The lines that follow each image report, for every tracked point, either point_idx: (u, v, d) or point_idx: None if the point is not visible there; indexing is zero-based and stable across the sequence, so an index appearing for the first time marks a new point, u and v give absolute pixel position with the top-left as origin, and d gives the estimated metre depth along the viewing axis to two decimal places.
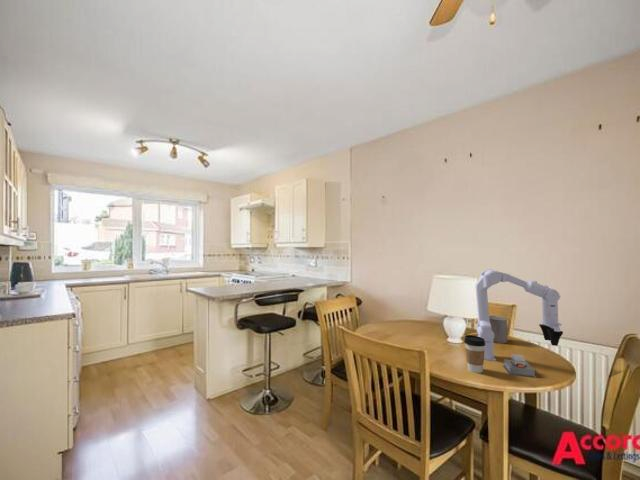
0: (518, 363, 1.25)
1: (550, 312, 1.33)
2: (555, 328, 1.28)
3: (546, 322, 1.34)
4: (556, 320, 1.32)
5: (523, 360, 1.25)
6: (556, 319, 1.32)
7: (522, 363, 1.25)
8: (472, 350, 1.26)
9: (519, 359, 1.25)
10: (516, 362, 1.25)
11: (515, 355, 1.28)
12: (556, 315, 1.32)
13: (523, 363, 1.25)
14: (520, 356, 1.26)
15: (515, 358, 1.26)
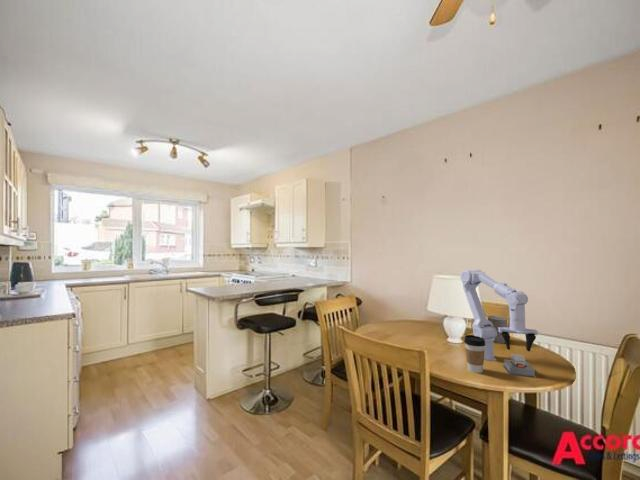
0: (518, 363, 1.25)
1: (510, 316, 1.27)
2: (498, 328, 1.30)
3: None
4: (512, 325, 1.26)
5: (523, 360, 1.25)
6: (512, 324, 1.26)
7: (522, 363, 1.25)
8: (472, 350, 1.26)
9: (519, 359, 1.25)
10: (516, 362, 1.25)
11: (515, 355, 1.28)
12: (512, 320, 1.26)
13: (523, 363, 1.25)
14: (520, 356, 1.26)
15: (515, 358, 1.26)
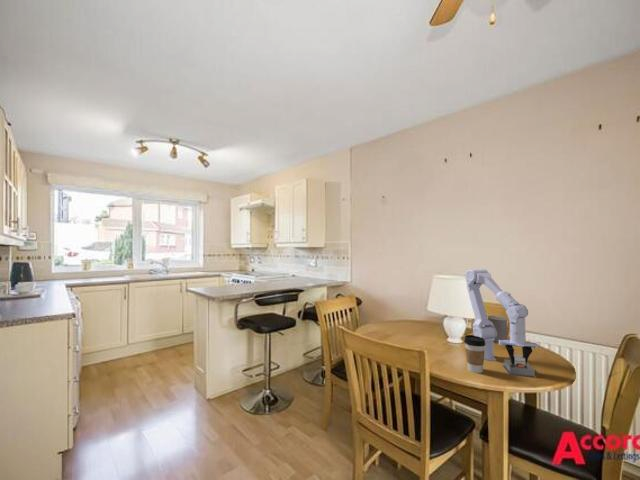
0: (518, 363, 1.25)
1: (511, 329, 1.27)
2: None
3: None
4: (512, 338, 1.26)
5: (523, 360, 1.25)
6: (512, 337, 1.26)
7: (522, 363, 1.25)
8: (472, 350, 1.26)
9: (519, 359, 1.25)
10: (516, 362, 1.25)
11: (515, 355, 1.28)
12: (512, 333, 1.26)
13: (523, 363, 1.25)
14: (520, 356, 1.26)
15: (515, 358, 1.26)
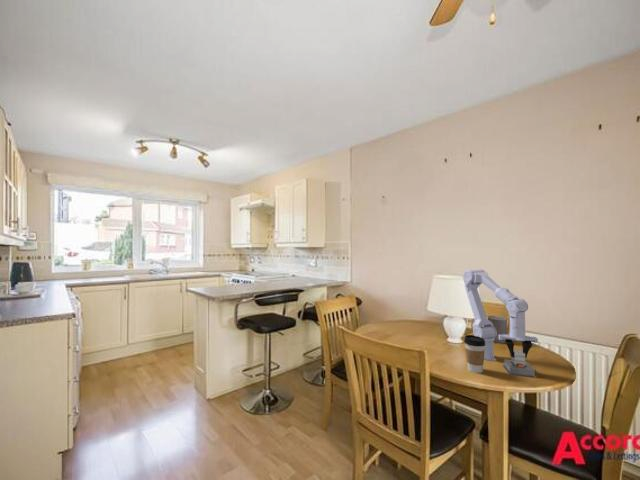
0: (518, 358, 1.25)
1: (511, 324, 1.27)
2: None
3: None
4: (512, 332, 1.26)
5: (523, 355, 1.25)
6: (512, 331, 1.26)
7: (522, 358, 1.25)
8: (472, 350, 1.26)
9: (519, 354, 1.25)
10: (516, 357, 1.25)
11: (515, 350, 1.28)
12: (512, 327, 1.26)
13: (523, 358, 1.25)
14: (520, 351, 1.27)
15: (515, 353, 1.26)
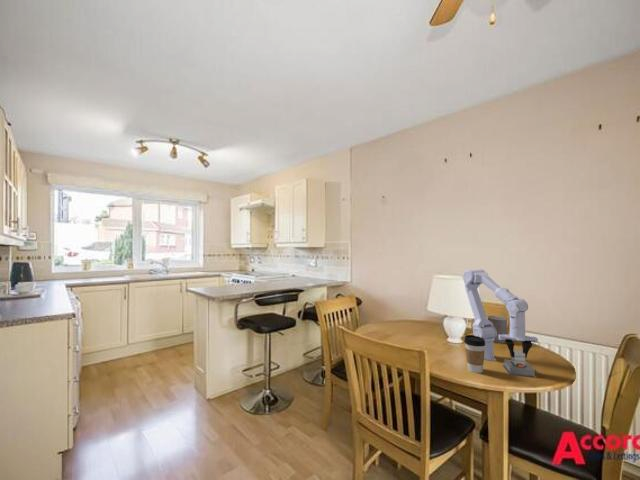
0: (518, 358, 1.25)
1: (511, 324, 1.27)
2: None
3: None
4: (512, 332, 1.26)
5: (523, 355, 1.25)
6: (512, 331, 1.26)
7: (522, 358, 1.25)
8: (472, 350, 1.26)
9: (519, 354, 1.25)
10: (516, 357, 1.25)
11: (515, 350, 1.28)
12: (512, 327, 1.26)
13: (523, 358, 1.25)
14: (520, 351, 1.27)
15: (515, 353, 1.26)
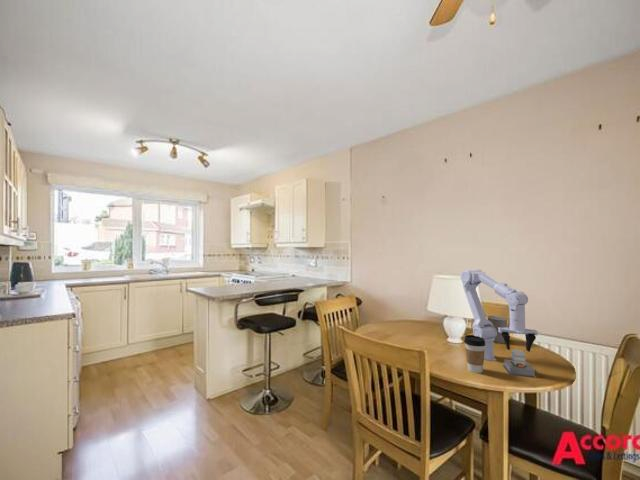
0: (518, 358, 1.25)
1: (510, 316, 1.27)
2: (498, 328, 1.30)
3: None
4: (512, 325, 1.26)
5: (523, 355, 1.25)
6: (512, 324, 1.26)
7: (522, 358, 1.25)
8: (472, 350, 1.26)
9: (519, 354, 1.25)
10: (516, 357, 1.25)
11: (515, 350, 1.28)
12: (512, 320, 1.26)
13: (523, 358, 1.25)
14: (520, 351, 1.27)
15: (515, 353, 1.26)
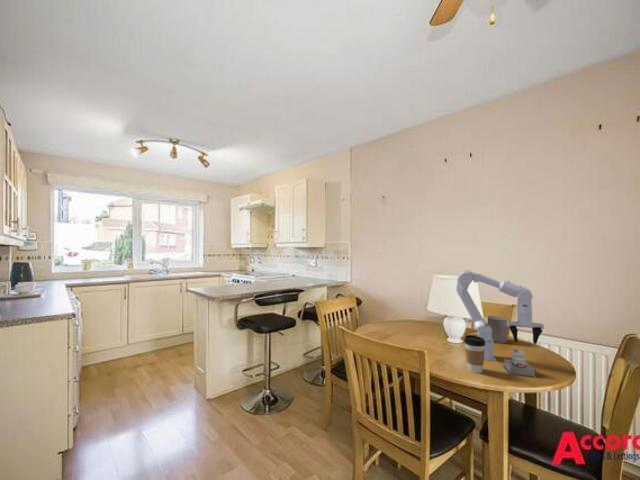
0: (518, 358, 1.25)
1: (522, 312, 1.33)
2: None
3: None
4: (520, 319, 1.34)
5: (523, 355, 1.25)
6: (520, 318, 1.34)
7: (522, 358, 1.25)
8: (472, 350, 1.26)
9: (519, 354, 1.25)
10: (516, 357, 1.25)
11: (515, 350, 1.28)
12: (520, 314, 1.34)
13: (523, 358, 1.25)
14: (520, 351, 1.27)
15: (515, 353, 1.26)
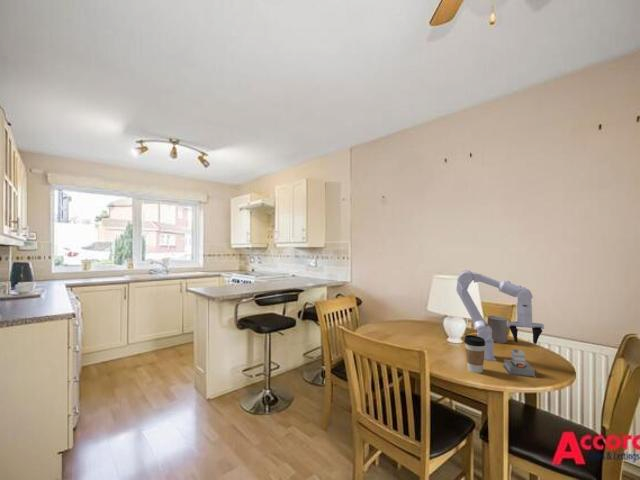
0: (518, 358, 1.25)
1: (522, 312, 1.33)
2: None
3: None
4: (520, 319, 1.34)
5: (523, 355, 1.25)
6: (520, 318, 1.34)
7: (522, 358, 1.25)
8: (472, 350, 1.26)
9: (519, 354, 1.25)
10: (516, 357, 1.25)
11: (515, 350, 1.28)
12: (520, 314, 1.34)
13: (523, 358, 1.25)
14: (520, 351, 1.27)
15: (515, 353, 1.26)
